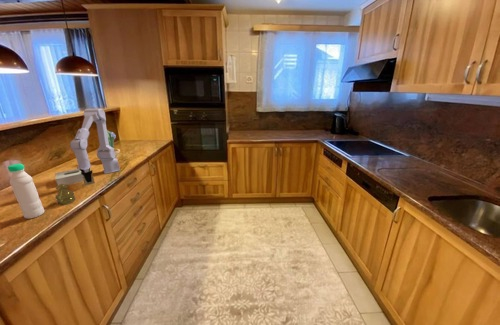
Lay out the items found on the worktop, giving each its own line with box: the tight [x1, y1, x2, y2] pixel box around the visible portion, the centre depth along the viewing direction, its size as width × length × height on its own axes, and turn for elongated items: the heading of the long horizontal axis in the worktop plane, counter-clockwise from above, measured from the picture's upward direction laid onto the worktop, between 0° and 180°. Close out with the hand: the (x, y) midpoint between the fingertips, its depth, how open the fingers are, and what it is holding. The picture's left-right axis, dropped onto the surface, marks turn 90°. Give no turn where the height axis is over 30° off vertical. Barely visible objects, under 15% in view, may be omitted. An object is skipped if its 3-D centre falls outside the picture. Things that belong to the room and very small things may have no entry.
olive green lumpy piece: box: [55, 184, 76, 206], centre depth 111 cm, size 7×7×10 cm
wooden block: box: [83, 174, 96, 186], centre depth 133 cm, size 5×2×5 cm, turn 131°
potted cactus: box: [107, 129, 121, 160], centre depth 175 cm, size 15×15×25 cm
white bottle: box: [7, 163, 45, 220], centre depth 97 cm, size 7×7×25 cm
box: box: [54, 168, 84, 186], centre depth 140 cm, size 16×14×5 cm
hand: (88, 180), depth 133 cm, fingers open, 7 cm apart
